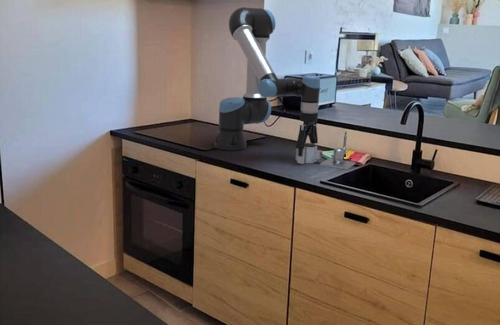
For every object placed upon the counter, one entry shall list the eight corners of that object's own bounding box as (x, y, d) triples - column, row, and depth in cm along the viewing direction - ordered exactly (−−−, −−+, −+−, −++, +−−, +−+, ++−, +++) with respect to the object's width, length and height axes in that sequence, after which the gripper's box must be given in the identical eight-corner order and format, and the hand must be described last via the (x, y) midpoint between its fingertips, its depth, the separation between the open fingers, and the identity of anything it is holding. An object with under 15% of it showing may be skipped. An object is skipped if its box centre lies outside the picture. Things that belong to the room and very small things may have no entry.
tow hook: (333, 155, 244) (333, 159, 235) (336, 128, 241) (336, 130, 232) (352, 157, 243) (352, 160, 234) (354, 129, 240) (355, 132, 231)
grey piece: (293, 161, 228) (294, 145, 227) (300, 157, 235) (301, 142, 234) (316, 165, 223) (317, 149, 222) (323, 161, 231) (324, 145, 229)
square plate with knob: (319, 165, 223) (321, 149, 221) (329, 159, 233) (330, 145, 232) (346, 169, 218) (348, 153, 216) (355, 163, 228) (356, 148, 226)
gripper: (306, 116, 212) (303, 167, 218) (327, 109, 234) (323, 156, 239) (289, 114, 216) (287, 164, 221) (311, 108, 237) (308, 154, 242)
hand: (306, 160), depth 230 cm, fingers open, 12 cm apart
